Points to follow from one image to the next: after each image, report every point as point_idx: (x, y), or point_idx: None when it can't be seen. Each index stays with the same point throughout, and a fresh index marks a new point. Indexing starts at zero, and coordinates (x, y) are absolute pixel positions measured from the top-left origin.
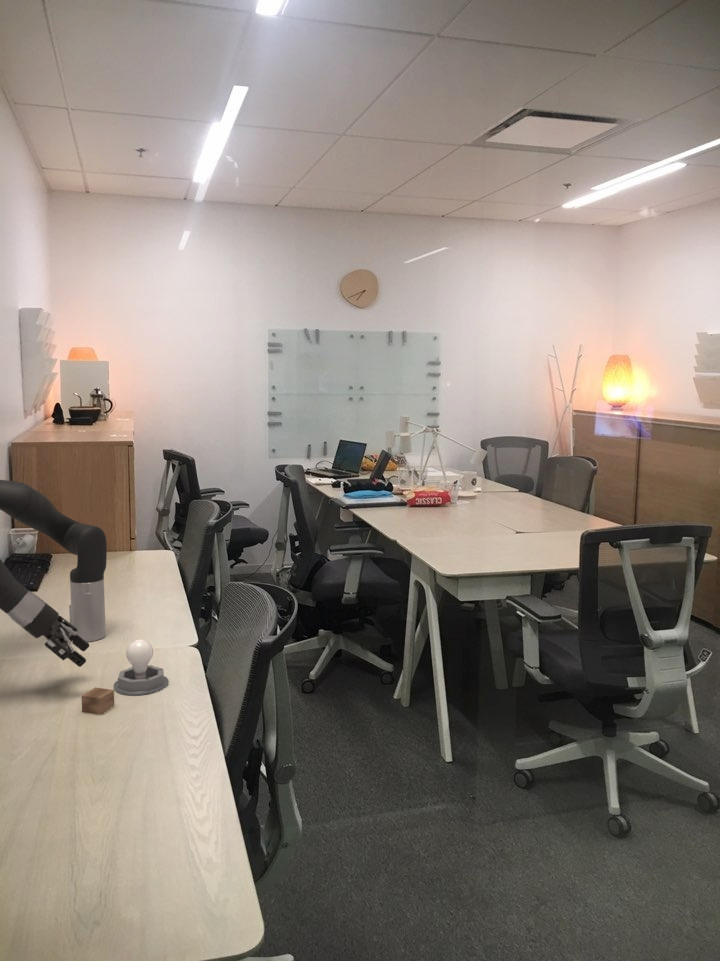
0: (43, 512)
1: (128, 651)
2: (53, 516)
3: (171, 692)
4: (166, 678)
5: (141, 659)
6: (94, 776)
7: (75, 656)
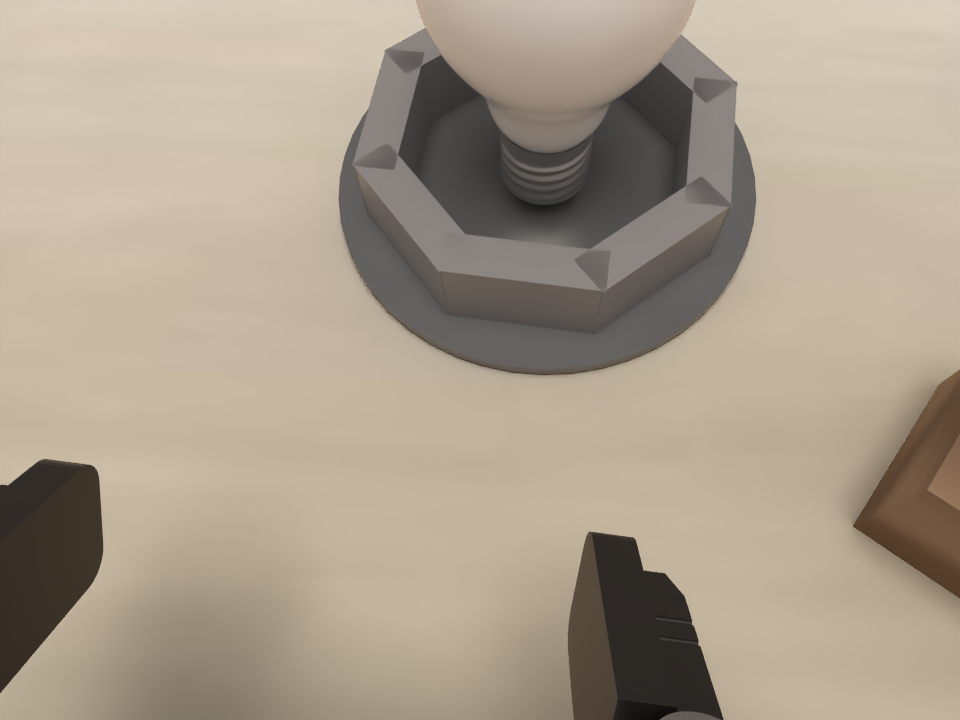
0: None
1: (630, 12)
2: None
3: (738, 34)
4: None
5: None
6: None
7: (714, 696)
